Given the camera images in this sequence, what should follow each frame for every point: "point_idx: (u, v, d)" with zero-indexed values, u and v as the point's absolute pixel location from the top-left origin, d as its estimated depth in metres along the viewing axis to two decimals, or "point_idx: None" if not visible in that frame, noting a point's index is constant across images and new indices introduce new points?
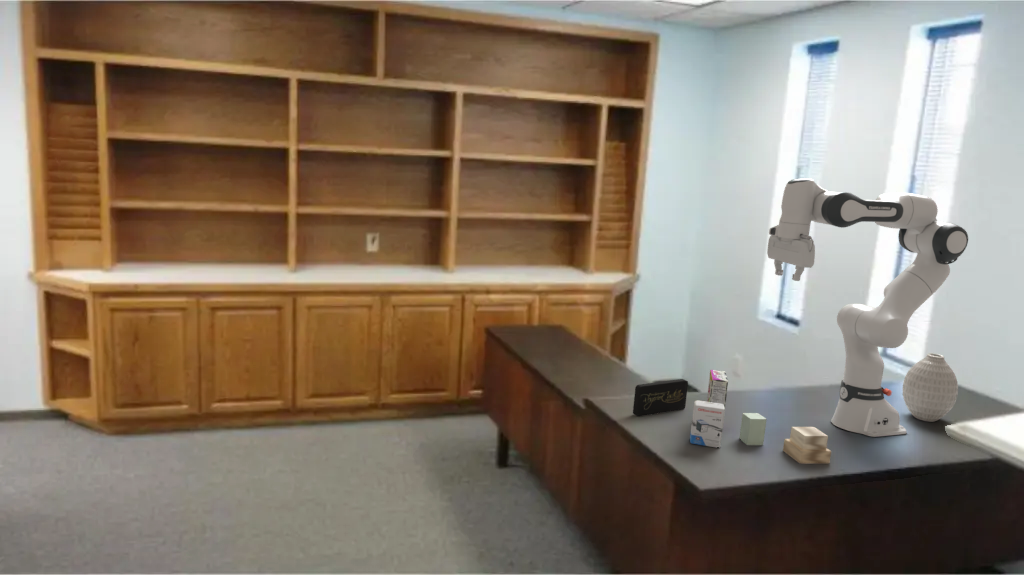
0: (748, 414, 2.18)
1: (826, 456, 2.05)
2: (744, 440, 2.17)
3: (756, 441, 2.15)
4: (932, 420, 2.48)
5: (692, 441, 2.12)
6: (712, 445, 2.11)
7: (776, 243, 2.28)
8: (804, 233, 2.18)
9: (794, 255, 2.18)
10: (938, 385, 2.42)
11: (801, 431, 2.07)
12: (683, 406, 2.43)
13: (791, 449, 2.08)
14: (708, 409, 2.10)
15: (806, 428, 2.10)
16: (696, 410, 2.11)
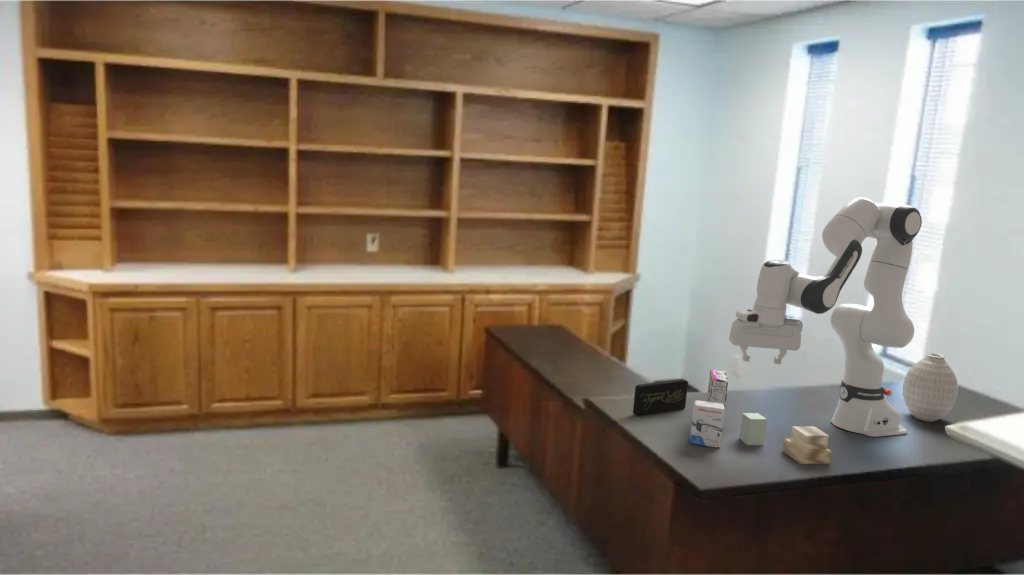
0: (748, 414, 2.18)
1: (826, 456, 2.05)
2: (744, 440, 2.17)
3: (756, 441, 2.15)
4: (932, 420, 2.48)
5: (692, 441, 2.12)
6: (712, 445, 2.11)
7: (748, 329, 2.12)
8: None
9: (784, 340, 2.13)
10: (938, 385, 2.42)
11: (802, 431, 2.07)
12: (683, 406, 2.43)
13: (791, 449, 2.08)
14: (708, 409, 2.10)
15: (807, 428, 2.10)
16: (696, 410, 2.11)
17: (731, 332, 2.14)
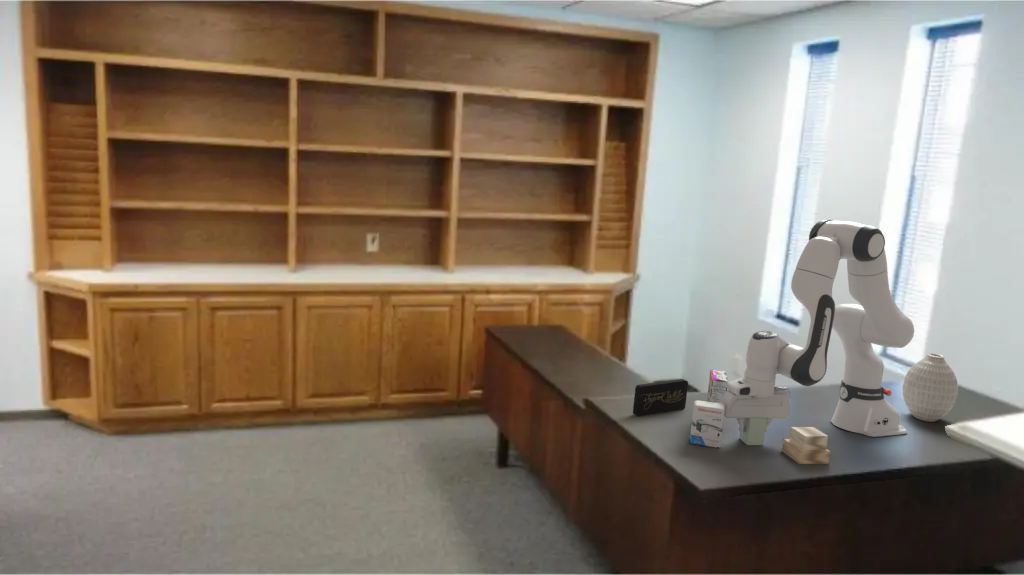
0: None
1: (825, 456, 2.05)
2: (744, 440, 2.17)
3: (756, 441, 2.15)
4: (932, 420, 2.48)
5: (692, 441, 2.12)
6: (712, 445, 2.11)
7: (740, 401, 2.13)
8: None
9: (774, 409, 2.15)
10: (938, 385, 2.42)
11: (801, 432, 2.07)
12: (683, 406, 2.43)
13: (790, 449, 2.08)
14: (708, 409, 2.10)
15: (806, 428, 2.10)
16: (696, 410, 2.11)
17: None
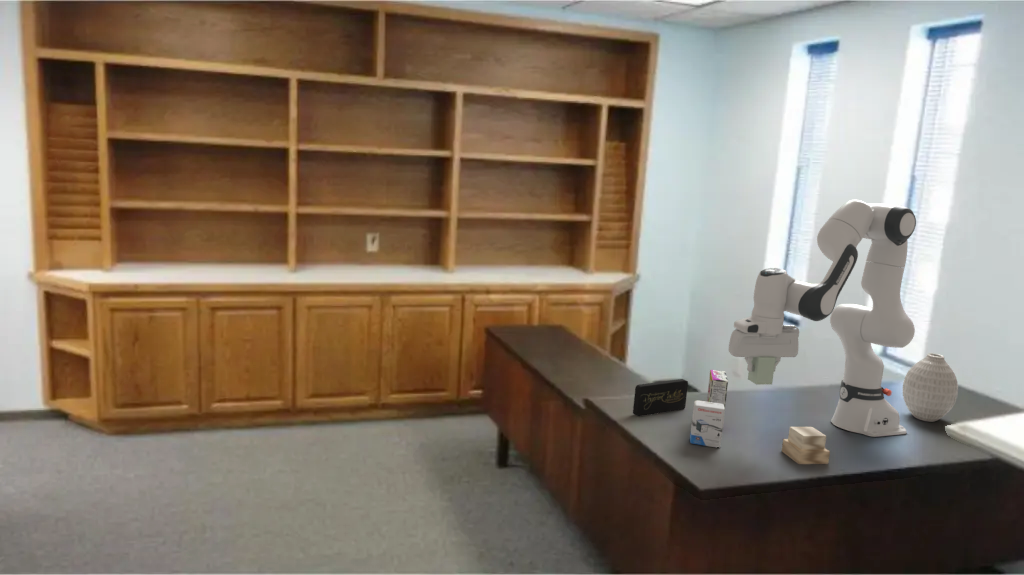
0: None
1: (825, 456, 2.05)
2: (753, 380, 2.14)
3: (765, 381, 2.12)
4: (932, 420, 2.48)
5: (692, 441, 2.12)
6: (712, 445, 2.11)
7: (748, 340, 2.10)
8: None
9: (782, 348, 2.12)
10: (938, 385, 2.42)
11: (799, 431, 2.07)
12: (683, 406, 2.43)
13: (790, 449, 2.08)
14: (708, 409, 2.10)
15: (804, 428, 2.10)
16: (696, 410, 2.11)
17: (731, 344, 2.12)
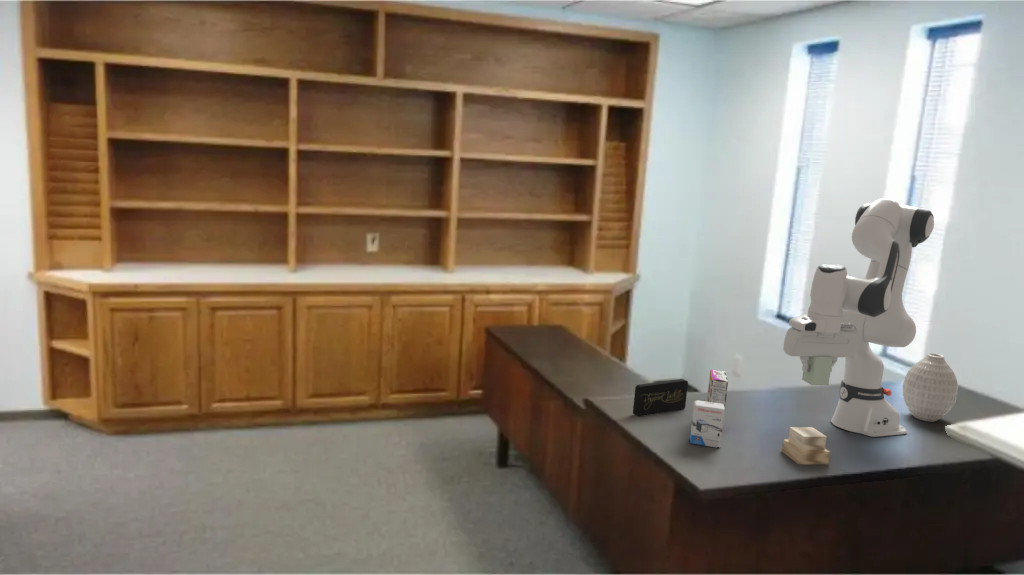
0: None
1: (825, 457, 2.04)
2: (808, 380, 2.05)
3: (821, 381, 2.03)
4: (932, 420, 2.48)
5: (692, 441, 2.12)
6: (712, 445, 2.11)
7: (805, 338, 2.01)
8: None
9: (840, 347, 2.03)
10: (938, 385, 2.42)
11: (800, 432, 2.06)
12: (683, 406, 2.43)
13: (790, 449, 2.08)
14: (708, 409, 2.10)
15: (804, 428, 2.10)
16: (696, 410, 2.11)
17: (786, 343, 2.03)
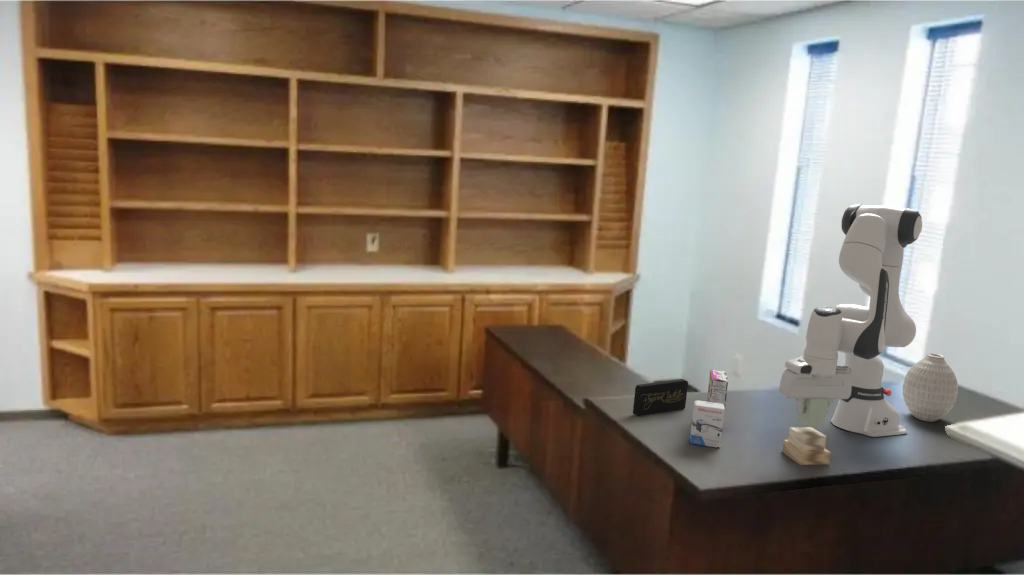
0: None
1: (825, 457, 2.04)
2: (804, 422, 2.06)
3: (817, 423, 2.05)
4: (932, 420, 2.48)
5: (692, 441, 2.12)
6: (712, 445, 2.11)
7: (800, 380, 2.03)
8: None
9: (835, 389, 2.05)
10: (938, 385, 2.42)
11: (799, 432, 2.06)
12: (683, 406, 2.43)
13: (790, 450, 2.08)
14: (708, 409, 2.10)
15: (804, 428, 2.10)
16: (696, 410, 2.11)
17: (782, 384, 2.04)
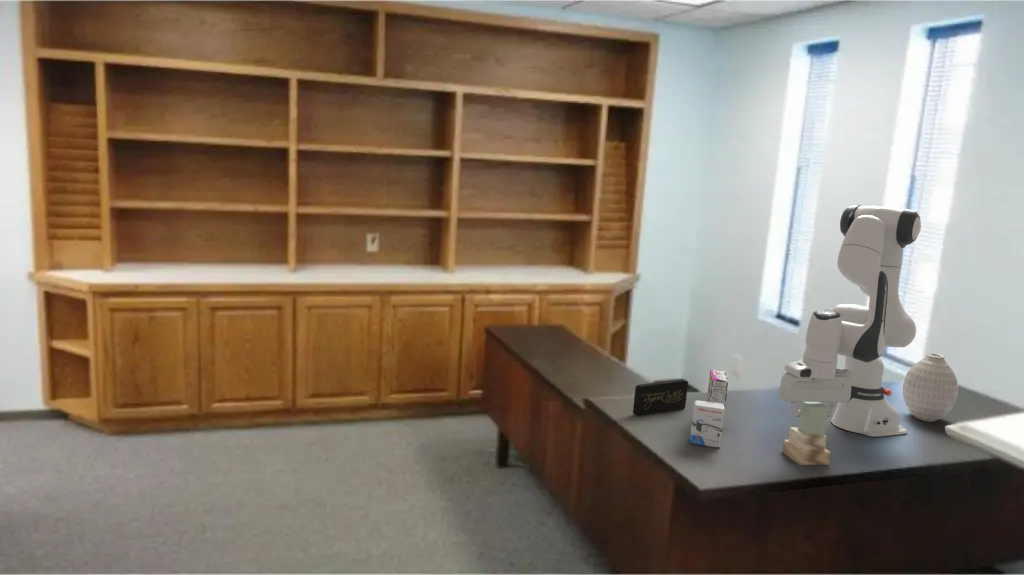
0: (808, 402, 2.07)
1: (826, 457, 2.04)
2: (804, 429, 2.07)
3: (817, 431, 2.05)
4: (932, 420, 2.48)
5: (692, 441, 2.12)
6: (712, 445, 2.11)
7: (800, 384, 2.03)
8: None
9: (835, 392, 2.05)
10: (938, 385, 2.42)
11: (800, 432, 2.06)
12: (683, 406, 2.43)
13: (790, 450, 2.08)
14: (708, 409, 2.10)
15: None
16: (696, 410, 2.11)
17: (782, 388, 2.04)
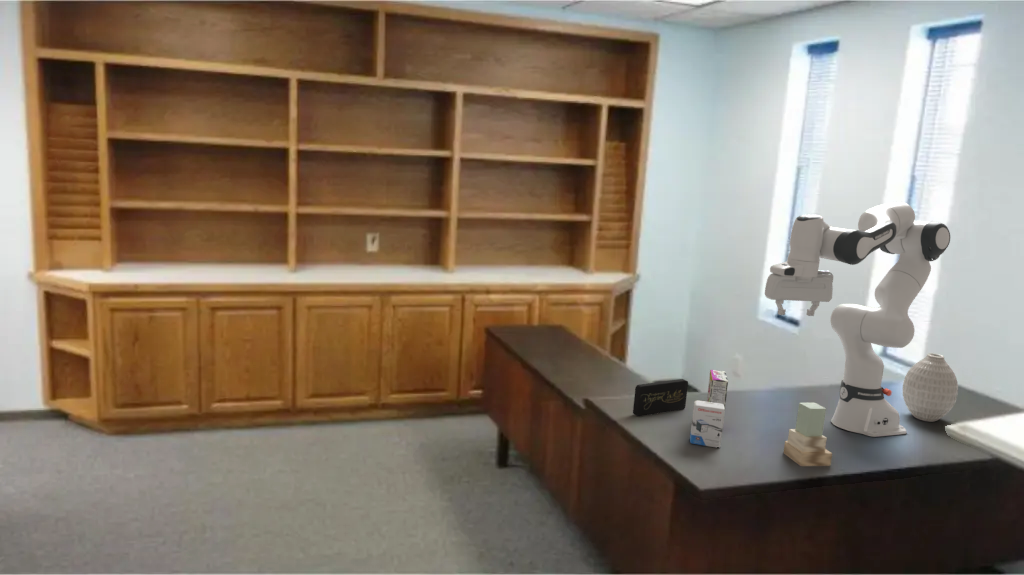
0: (805, 404, 2.06)
1: (827, 458, 2.03)
2: (802, 431, 2.05)
3: (815, 432, 2.04)
4: (932, 420, 2.48)
5: (692, 441, 2.12)
6: (712, 445, 2.11)
7: (784, 283, 2.16)
8: None
9: (817, 292, 2.18)
10: (938, 385, 2.42)
11: (800, 434, 2.05)
12: (683, 406, 2.43)
13: (792, 451, 2.07)
14: (708, 409, 2.10)
15: None
16: (696, 410, 2.11)
17: (767, 287, 2.18)
